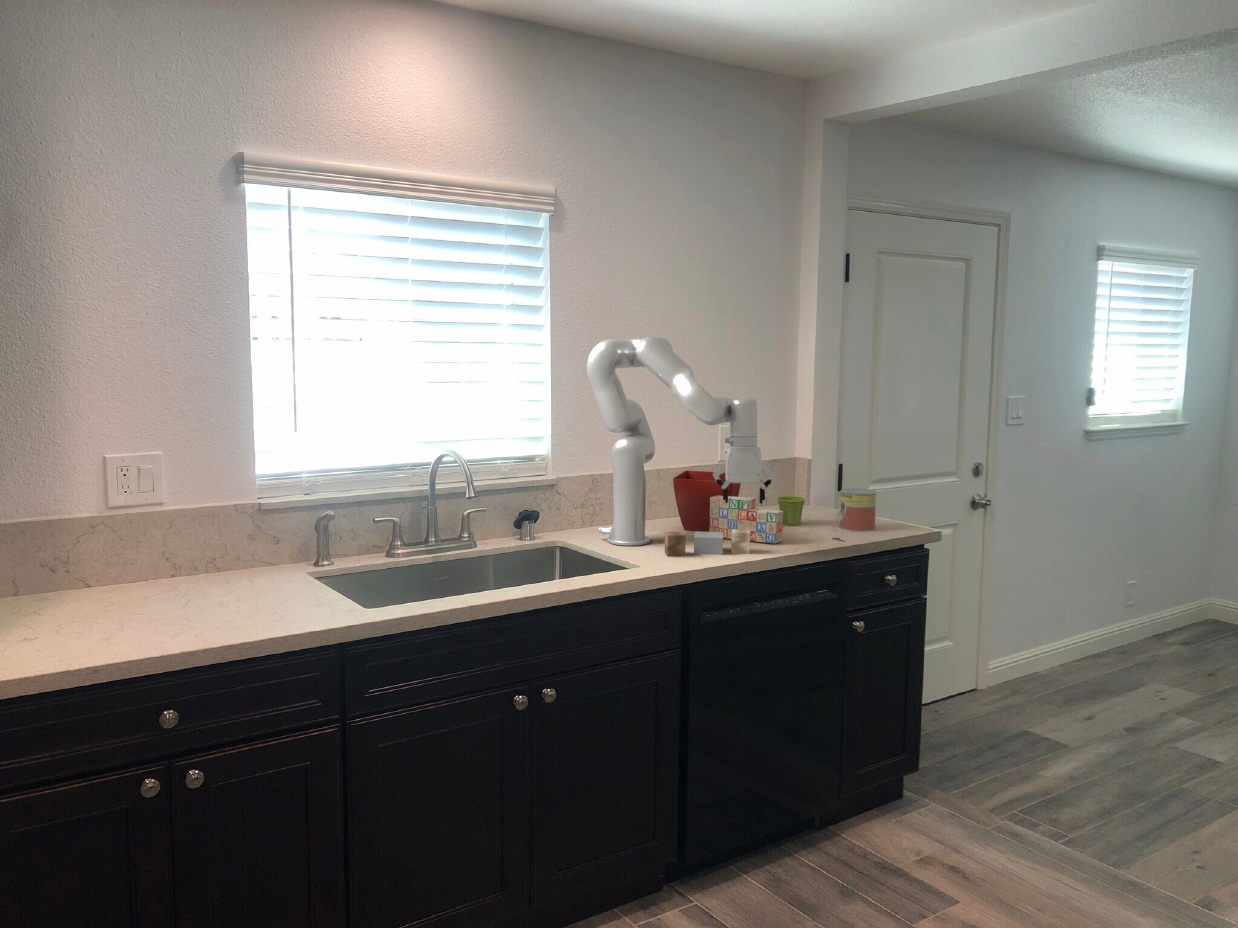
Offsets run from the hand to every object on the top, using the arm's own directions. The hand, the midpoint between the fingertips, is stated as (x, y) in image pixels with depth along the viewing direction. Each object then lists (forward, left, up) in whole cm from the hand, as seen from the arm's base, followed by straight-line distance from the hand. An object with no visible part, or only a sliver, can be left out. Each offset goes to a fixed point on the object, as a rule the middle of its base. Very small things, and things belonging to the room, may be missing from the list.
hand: (743, 502), depth 264 cm
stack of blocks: (0, +17, -14) cm, 22 cm away
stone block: (-10, -1, -14) cm, 17 cm away
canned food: (+35, +42, -14) cm, 57 cm away
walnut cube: (-19, -7, -14) cm, 24 cm away
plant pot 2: (+14, +44, -14) cm, 49 cm away
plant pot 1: (-12, +33, -14) cm, 38 cm away
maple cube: (-1, 0, -14) cm, 14 cm away
